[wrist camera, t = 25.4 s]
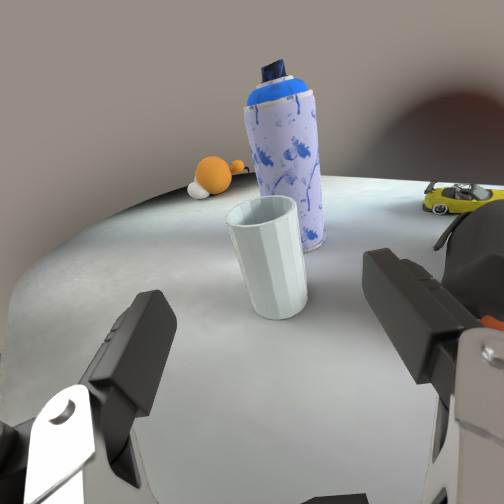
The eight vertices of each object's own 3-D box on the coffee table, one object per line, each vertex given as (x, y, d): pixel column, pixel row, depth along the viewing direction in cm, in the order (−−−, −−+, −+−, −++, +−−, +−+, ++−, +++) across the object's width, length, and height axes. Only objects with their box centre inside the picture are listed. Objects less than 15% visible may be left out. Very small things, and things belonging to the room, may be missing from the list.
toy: (245, 188, 66) (191, 186, 65) (248, 153, 60) (188, 149, 58) (248, 205, 59) (187, 202, 58) (251, 167, 53) (183, 163, 51)
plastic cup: (257, 326, 22) (227, 234, 17) (248, 287, 27) (224, 206, 22) (316, 310, 22) (306, 212, 17) (297, 274, 27) (284, 190, 22)
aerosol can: (338, 233, 32) (331, 44, 21) (297, 261, 29) (265, 56, 18) (296, 220, 38) (275, 67, 27) (258, 242, 35) (218, 79, 24)
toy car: (529, 223, 25) (541, 197, 24) (418, 213, 32) (422, 192, 30) (530, 204, 28) (540, 179, 26) (427, 198, 34) (431, 178, 33)
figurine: (527, 387, 16) (559, 245, 22) (615, 299, 10) (626, 134, 16) (404, 332, 21) (456, 229, 27) (411, 252, 15) (477, 141, 21)
